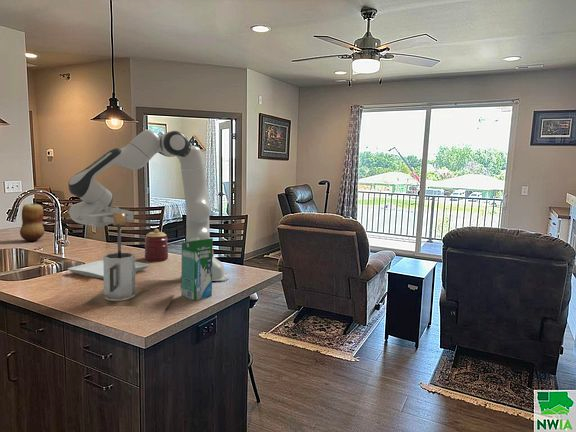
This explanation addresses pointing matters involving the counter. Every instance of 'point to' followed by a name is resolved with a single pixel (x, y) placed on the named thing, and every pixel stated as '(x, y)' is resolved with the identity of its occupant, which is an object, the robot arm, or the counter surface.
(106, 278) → the press jug
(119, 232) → the plunger
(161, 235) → the canister
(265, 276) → the counter surface
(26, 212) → the butternut squash
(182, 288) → the milk carton
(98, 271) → the square plate
